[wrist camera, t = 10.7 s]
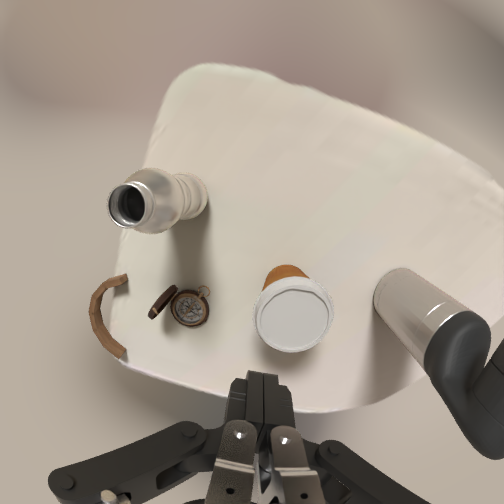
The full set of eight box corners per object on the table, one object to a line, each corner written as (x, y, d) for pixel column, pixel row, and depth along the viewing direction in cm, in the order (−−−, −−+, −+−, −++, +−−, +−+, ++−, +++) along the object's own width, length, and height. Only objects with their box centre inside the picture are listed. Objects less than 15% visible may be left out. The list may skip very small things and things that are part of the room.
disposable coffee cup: (329, 280, 42) (352, 314, 30) (287, 324, 44) (296, 368, 32) (283, 240, 41) (292, 262, 29) (241, 288, 43) (234, 325, 31)
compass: (195, 331, 45) (185, 355, 38) (157, 302, 44) (140, 321, 37) (225, 297, 43) (218, 318, 36) (184, 265, 42) (169, 281, 35)
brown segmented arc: (128, 274, 43) (121, 279, 40) (126, 352, 46) (121, 359, 44) (95, 265, 43) (88, 269, 40) (96, 342, 46) (90, 348, 44)
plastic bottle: (199, 225, 41) (147, 261, 21) (159, 205, 40) (82, 225, 21) (218, 185, 39) (179, 185, 20) (177, 165, 39) (108, 152, 19)
